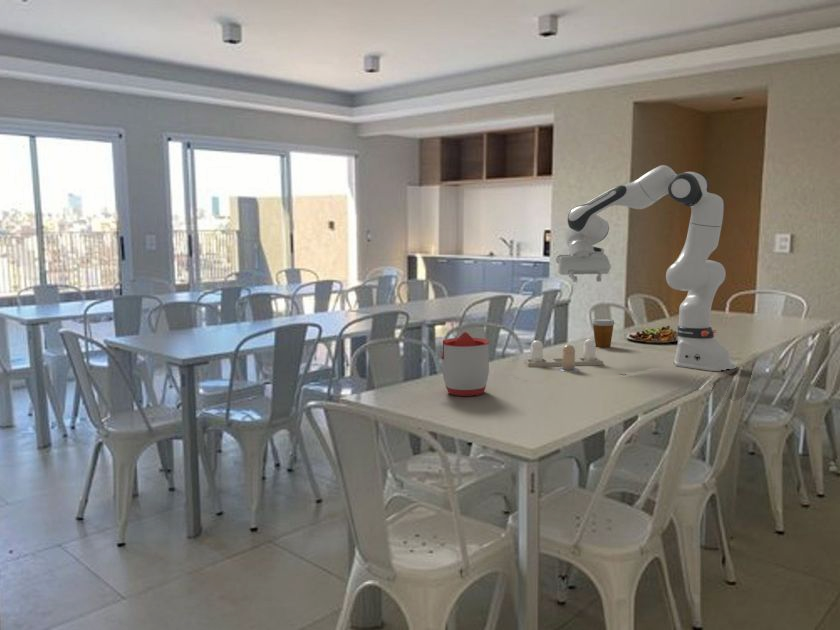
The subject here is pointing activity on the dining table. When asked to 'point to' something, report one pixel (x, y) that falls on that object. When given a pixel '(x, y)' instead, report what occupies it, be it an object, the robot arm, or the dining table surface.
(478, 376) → the citrus juicer
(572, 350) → the beige rounded cylinder
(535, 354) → the white egg
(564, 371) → the saucer
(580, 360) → the egg tray
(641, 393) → the dining table surface
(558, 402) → the dining table surface
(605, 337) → the disposable coffee cup
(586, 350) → the white rounded cylinder
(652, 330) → the plate of food
